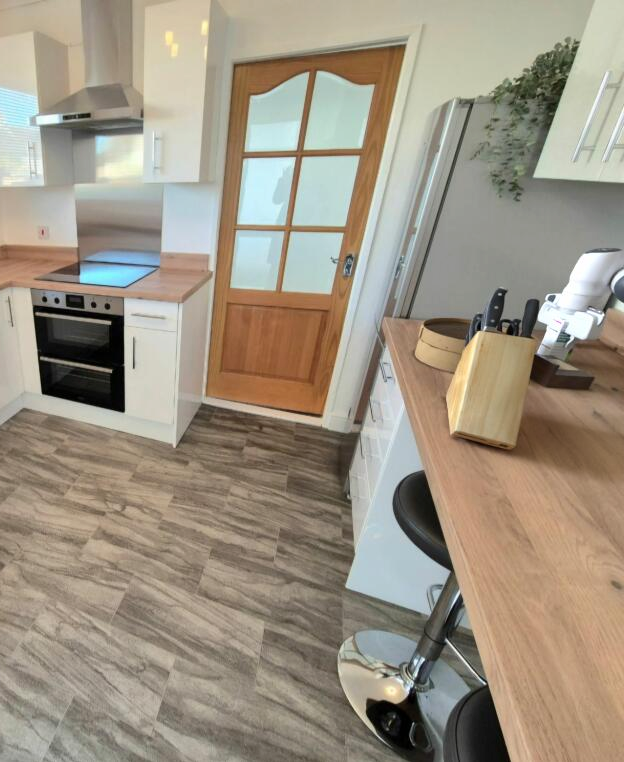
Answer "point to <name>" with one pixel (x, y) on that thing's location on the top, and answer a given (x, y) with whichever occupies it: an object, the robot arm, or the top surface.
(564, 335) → the syrup box
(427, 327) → the steamer basket
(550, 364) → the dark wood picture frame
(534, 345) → the knife block
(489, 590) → the top surface
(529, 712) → the top surface
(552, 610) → the top surface
